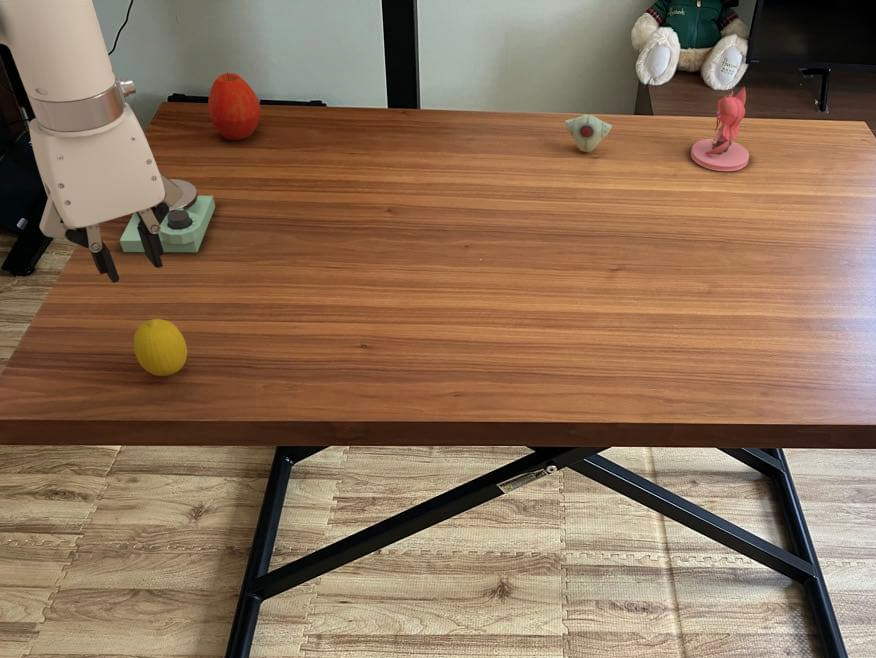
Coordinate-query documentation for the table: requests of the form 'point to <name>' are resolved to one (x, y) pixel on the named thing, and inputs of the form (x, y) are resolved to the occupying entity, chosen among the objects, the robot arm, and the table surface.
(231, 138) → the apple
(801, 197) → the table surface
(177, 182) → the scale weighing pan
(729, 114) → the toy figure
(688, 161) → the table surface
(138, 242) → the scale
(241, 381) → the table surface
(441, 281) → the table surface
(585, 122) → the robot head
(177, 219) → the tare button
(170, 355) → the lemon
